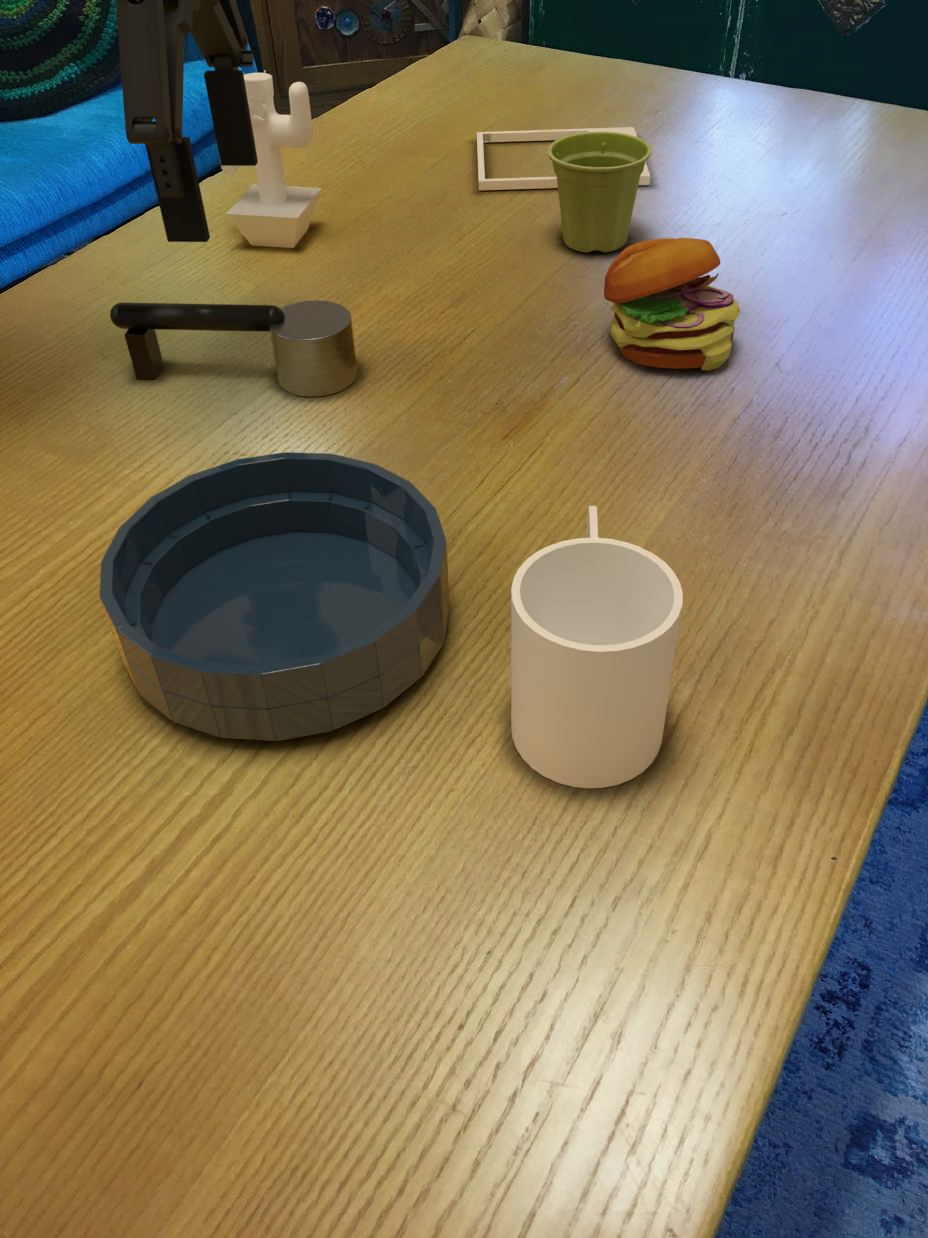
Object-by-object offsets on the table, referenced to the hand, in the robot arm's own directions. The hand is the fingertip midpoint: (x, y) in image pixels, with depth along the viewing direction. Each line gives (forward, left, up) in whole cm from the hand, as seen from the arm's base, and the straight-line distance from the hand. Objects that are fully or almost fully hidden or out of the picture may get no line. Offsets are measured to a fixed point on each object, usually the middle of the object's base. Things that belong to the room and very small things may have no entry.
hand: (216, 199), depth 76 cm
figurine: (-3, +26, -15) cm, 30 cm away
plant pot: (+28, +26, -15) cm, 41 cm away
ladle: (-1, 0, -14) cm, 14 cm away
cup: (+28, -34, -15) cm, 46 cm away
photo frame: (+24, +46, -14) cm, 54 cm away
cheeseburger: (+34, +6, -15) cm, 37 cm away
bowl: (+10, -29, -14) cm, 34 cm away
